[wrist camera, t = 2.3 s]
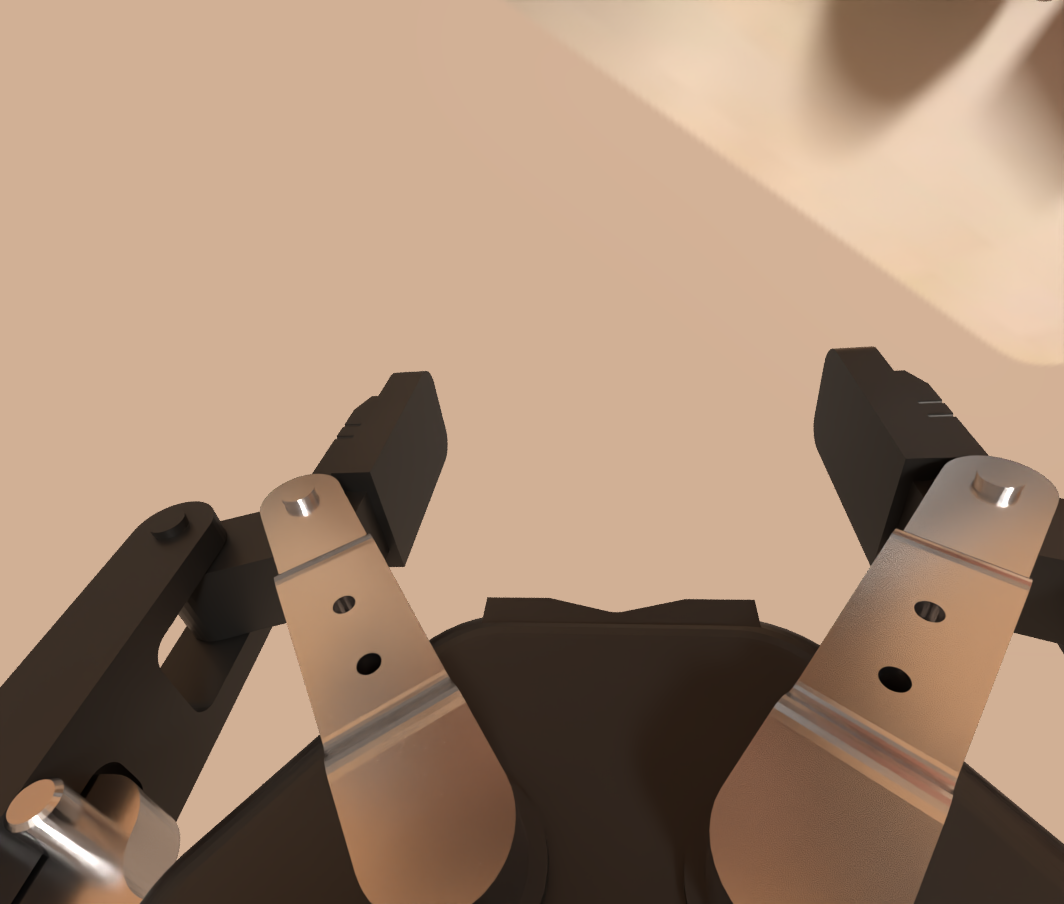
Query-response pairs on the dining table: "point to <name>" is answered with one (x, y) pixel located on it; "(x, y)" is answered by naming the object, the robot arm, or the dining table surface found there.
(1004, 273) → the dining table surface
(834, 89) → the dining table surface
